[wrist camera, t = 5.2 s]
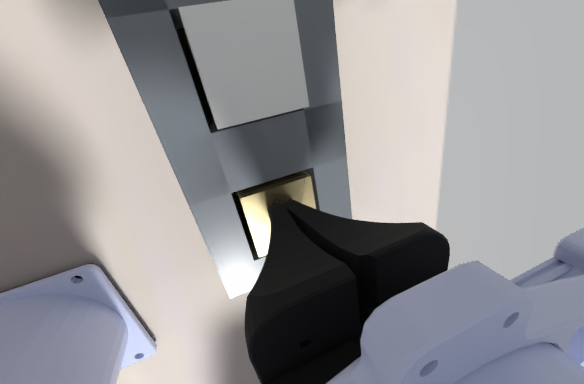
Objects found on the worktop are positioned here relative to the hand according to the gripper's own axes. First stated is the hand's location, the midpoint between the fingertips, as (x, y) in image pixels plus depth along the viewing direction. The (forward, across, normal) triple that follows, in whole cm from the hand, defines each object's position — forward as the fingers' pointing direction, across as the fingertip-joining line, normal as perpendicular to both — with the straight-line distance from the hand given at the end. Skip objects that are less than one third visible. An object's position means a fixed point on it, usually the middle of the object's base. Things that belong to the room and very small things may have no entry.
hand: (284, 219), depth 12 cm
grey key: (+2, 0, -7) cm, 7 cm away
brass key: (+3, 0, 0) cm, 3 cm away
